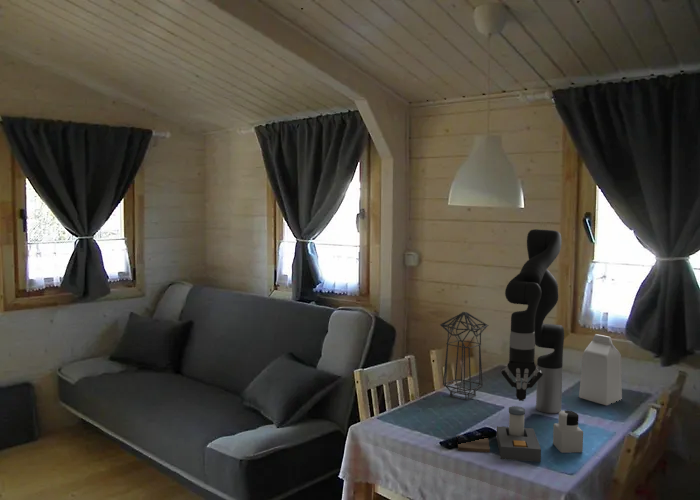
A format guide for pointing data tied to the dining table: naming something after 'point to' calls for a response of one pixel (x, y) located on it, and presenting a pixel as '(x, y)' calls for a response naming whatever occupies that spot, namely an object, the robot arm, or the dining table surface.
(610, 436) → the dining table surface
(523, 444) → the orange cardboard box
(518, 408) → the cylinder
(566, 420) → the medicine bottle
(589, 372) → the milk
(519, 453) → the block
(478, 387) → the geometric lantern
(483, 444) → the walnut pad
